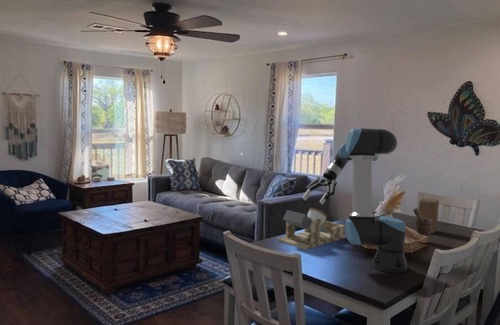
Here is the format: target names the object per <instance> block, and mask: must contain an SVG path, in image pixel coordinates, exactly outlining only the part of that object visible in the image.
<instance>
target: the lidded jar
mask: <svg viewBox="0 0 500 325" xmlns="http://www.w3.org/2000/svg"><path fill="white" fill-rule="evenodd" d="M306 215H307V216H308V217H310V218H314V219H315V218H321V225H322V224H323V223H324V222H325V221H327V219H328V216H327V214H326V213H325V212H323V211H322V210H321V209H318V208H315V207H310V208H309V210H308V212H307V214H306Z"/></svg>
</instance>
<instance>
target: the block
mask: <svg viewBox="0 0 500 325" xmlns="http://www.w3.org/2000/svg"><path fill="white" fill-rule="evenodd" d="M439 203H440V200H438V199H433V198H421V199H419V201H418V208H417V209H418V210H419V211H420V214H421V217H422V218H427V219H431V220H433V221H432V230H431V233H430V234H432V233H433V234H434V233H436V231H437V230H438V221H439V220H438V218H439V207H440V206H439V205H440V204H439Z"/></svg>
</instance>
